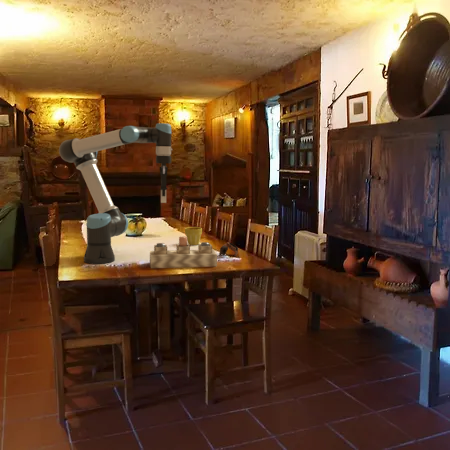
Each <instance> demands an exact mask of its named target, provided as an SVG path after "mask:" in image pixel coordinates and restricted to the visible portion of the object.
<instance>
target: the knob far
mask: <svg viewBox="0 0 450 450" xmlns="http://www.w3.org/2000/svg"><path fill="white" fill-rule="evenodd" d="M200 244H201V246H209V244H210V242H207V241H205V242H204V241H203V242H200Z"/></svg>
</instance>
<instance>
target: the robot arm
mask: <svg viewBox="0 0 450 450" xmlns="http://www.w3.org/2000/svg"><path fill="white" fill-rule="evenodd" d="M132 143H133V144H134V143H137V144H138V143H139V144H155V155H156V156H155V163H156V164H161V165H160V166H159V175H160V188H159V190H160V204H164V203H165V204H167V190H168V187H167V176H168V169H169V167H168V166H167V164H171V163H172V156H171V155H172V151H173V148H172V125H171V124H170V123H156V124H155V127H145V126H144V127H143V126H135V125H125V126H123V127H122V128H119V129H116V130H112V131H108V132H104V133H99V134H95V135H92V136H89V137H85V138H76V137H75V138H72V139H66V140H64V141H62V142H61V143H60V145H59V148H58V153H59V156H60V158H61V159H62V160H63V161H64V162H68V163H70V164H71V163H73V164H74V166H75V168H76V170H79V171H80V172H81V175H82V178H83V179H84V181H85V183H86V186H87V188H88V190H89V193H90V195H91V197H92V199H93V202H94V204H95V206H96V208H97V211H98V213H94V214H90V215H88V216H87V218H86V224H85V225H86V245H87V246H86V249H85V252H84V255H83V262H84V263H86V264H92V263H93V264H92V265H96V264H97V265H99V264H100V263H103V264H109V263H108V262H110V263H112V262H115V260H116V256H115V254H114V253H115V252H114V250H113V247H112V238H113V237H114V238H115V237H117V236H118V237H119V236H120V235H122V234H125V232H126V231H127V229H128V227H129V219H128V217H127V215H125V214H124V213H122V212H121V211H120V208H119V207H118V206H116V205H114V202H113V200H112V198H111V195H110V193H109V191H108V188H107V185H106V184H105V182H104V179H103V177H102V175H101V172H100V171H99V167H98V166H97V163H98V158H97V156H98V152H99V151H104V150H108V149H112V148H115V147H119V146H123V145H128V144H132ZM100 265H101V264H100Z"/></svg>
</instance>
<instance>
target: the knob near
mask: <svg viewBox="0 0 450 450" xmlns="http://www.w3.org/2000/svg"><path fill="white" fill-rule="evenodd" d="M156 245H157V247H165V245H166V244H165V243H164V242H157V243H156Z"/></svg>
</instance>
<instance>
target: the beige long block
mask: <svg viewBox="0 0 450 450" xmlns="http://www.w3.org/2000/svg"><path fill="white" fill-rule="evenodd" d="M197 248H198V249H191V245H189V244H188V243H187V246H186V247H180V246H179V244H176V249H175V250H171V249H170V250H168V246H167V244H165V247H157V244H154V245H153V250H149V264H150V265H149V267H150V269H168V268H169V269H170V268H172V269H173V268H175V269H176V268H202V267H203V268H204V267H218V254H217V252H216V251H215V249H213V245H212V244H211V243H209V246H201V243H199V244H198V247H197Z"/></svg>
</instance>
